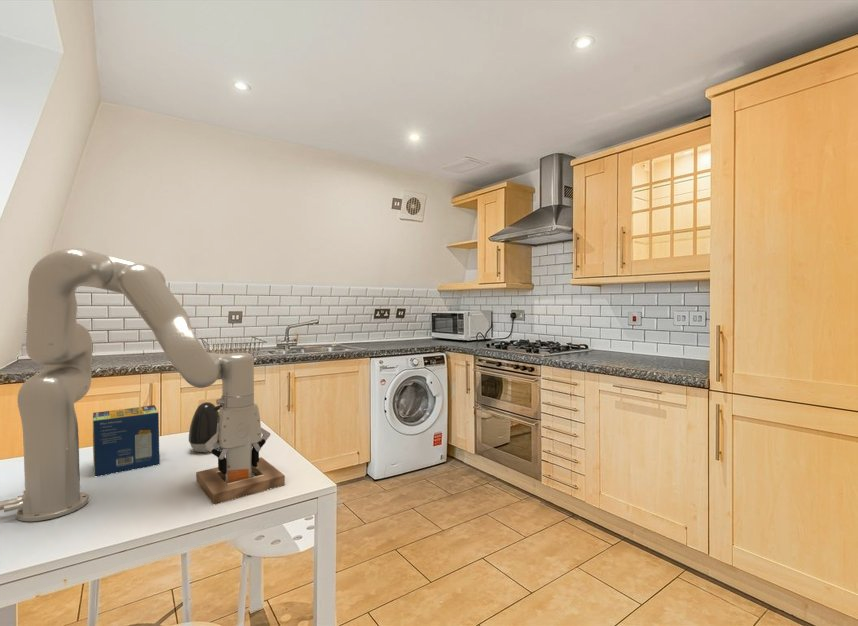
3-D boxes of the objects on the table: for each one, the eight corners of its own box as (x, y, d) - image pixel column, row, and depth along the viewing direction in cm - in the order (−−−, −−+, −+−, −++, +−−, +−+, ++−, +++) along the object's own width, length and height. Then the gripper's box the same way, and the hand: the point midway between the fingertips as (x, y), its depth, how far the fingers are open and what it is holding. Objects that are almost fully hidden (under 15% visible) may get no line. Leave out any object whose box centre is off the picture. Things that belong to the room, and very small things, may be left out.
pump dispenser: (221, 454, 136) (220, 405, 136) (184, 456, 134) (183, 407, 133) (228, 443, 146) (227, 397, 146) (194, 445, 144) (193, 399, 143)
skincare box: (225, 485, 112) (224, 438, 111) (227, 479, 116) (227, 433, 115) (250, 483, 113) (250, 436, 113) (252, 476, 117) (252, 432, 117)
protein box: (94, 465, 127) (92, 412, 126) (156, 454, 136) (155, 404, 135) (93, 477, 118) (92, 420, 118) (160, 464, 128) (159, 411, 127)
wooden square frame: (213, 504, 103) (213, 493, 103) (196, 481, 116) (196, 471, 116) (284, 484, 114) (284, 475, 114) (261, 465, 127) (261, 456, 127)
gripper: (205, 409, 105) (206, 482, 106) (277, 398, 117) (277, 465, 117) (197, 403, 111) (198, 473, 112) (266, 394, 122) (267, 457, 123)
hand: (239, 468), depth 114 cm, fingers closed on skincare box, 7 cm apart
